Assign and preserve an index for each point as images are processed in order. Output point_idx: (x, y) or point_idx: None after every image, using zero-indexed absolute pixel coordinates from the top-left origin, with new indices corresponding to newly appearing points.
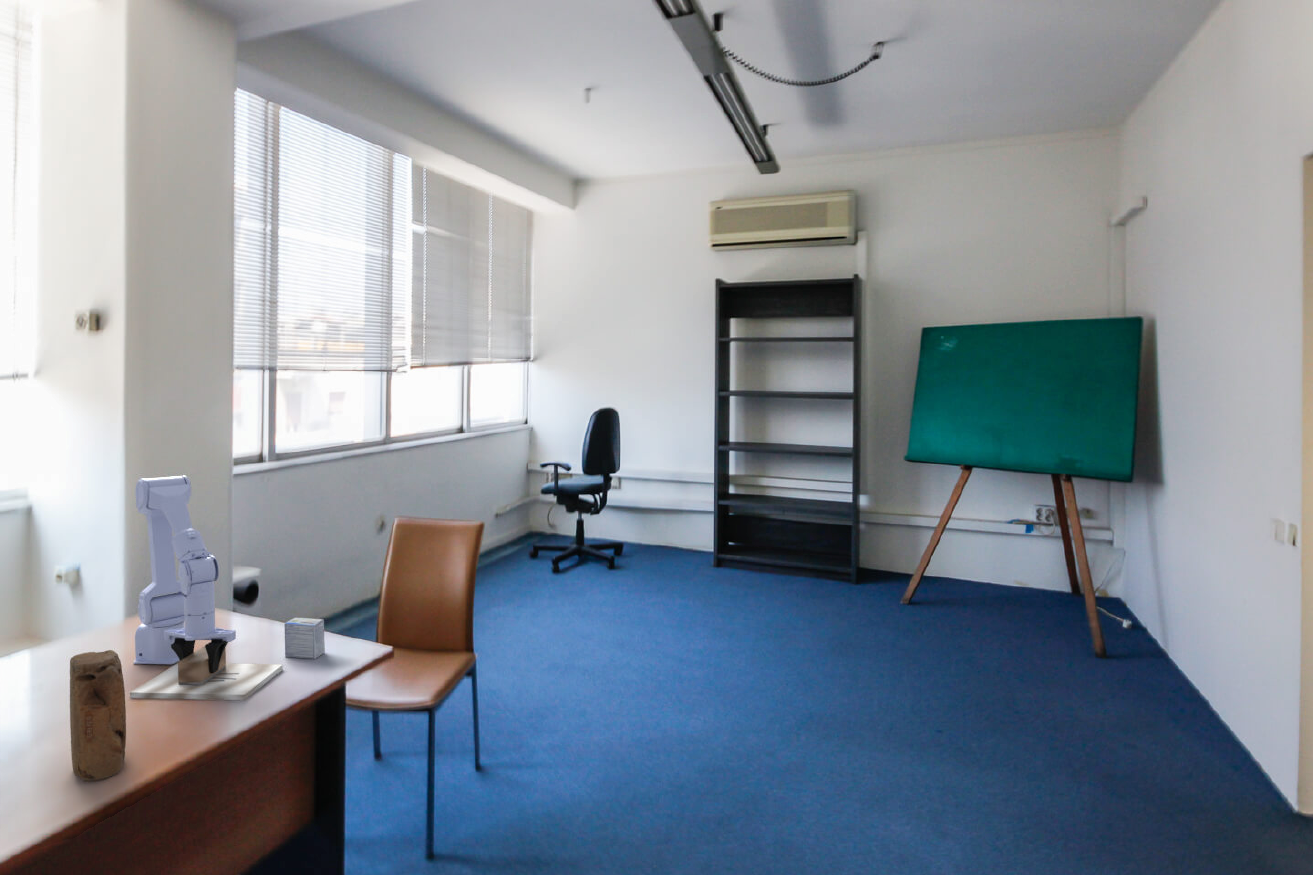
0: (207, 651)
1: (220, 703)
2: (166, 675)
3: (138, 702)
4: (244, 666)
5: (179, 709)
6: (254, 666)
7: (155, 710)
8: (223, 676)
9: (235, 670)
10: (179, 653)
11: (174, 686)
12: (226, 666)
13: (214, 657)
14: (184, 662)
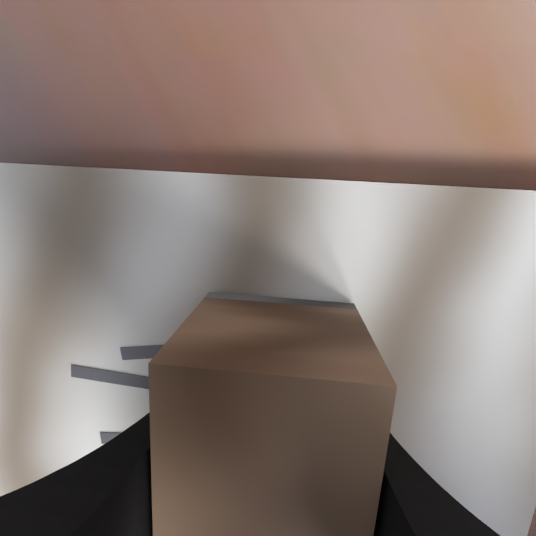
0: (84, 511)
1: (23, 119)
2: (496, 436)
3: (503, 127)
4: None
5: (201, 28)
6: None
7: (337, 8)
8: None
9: None
10: (451, 528)
11: (366, 281)
12: None
13: (78, 460)
14: (324, 379)
